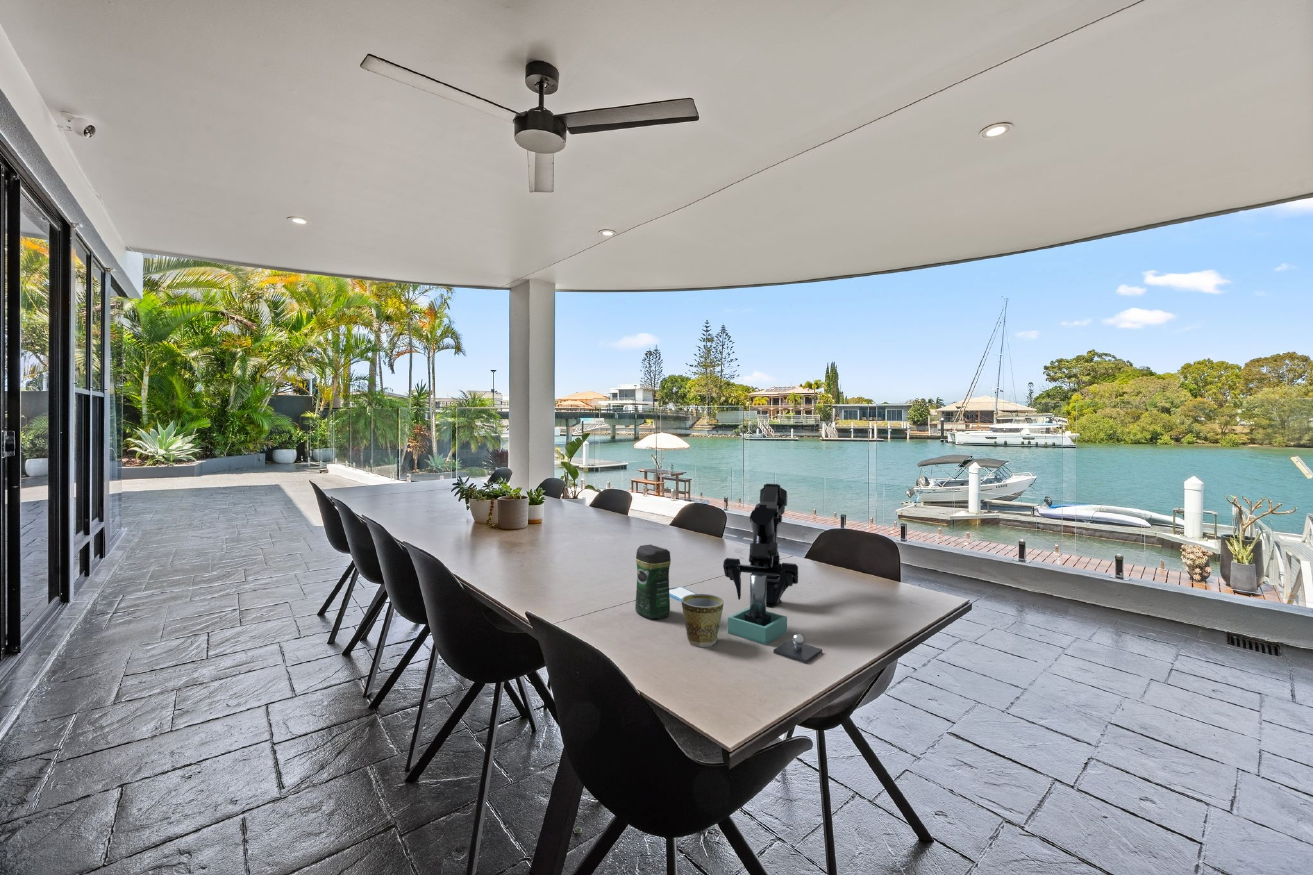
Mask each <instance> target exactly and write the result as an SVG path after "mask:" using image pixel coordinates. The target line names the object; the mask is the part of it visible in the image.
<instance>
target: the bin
mask: <svg viewBox="0 0 1313 875" xmlns="http://www.w3.org/2000/svg"><path fill="white" fill-rule="evenodd" d="M745 613H750V606H748V607H747V608H745V609H743V610H741V611H739V612H736V613H734V614H731V615H729V616H728V617H727V634H729V635H732V636H734V637H735V636H736V637H739V638H742V639H745V640H748V641H751V642H753V643H754V642H755V643H756V644H761V645H764V646H766V645H768V644H770V643H771V642H773V641H775V640H777V639H778V638H780V637H782V636H783V635H785V634H787V633H788V616H786V615H783V614H782V615H781V614H778V613H775V612H771V611H767V610H766V614H767V615H770V616H771V623H770V624H768V625H766V626H761V625H757V624H754V623H751V622H747V621H745Z"/></svg>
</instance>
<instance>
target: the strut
mask: <svg viewBox="0 0 1313 875" xmlns="http://www.w3.org/2000/svg"><path fill="white" fill-rule="evenodd" d="M749 574H750V577H749V578H750V579H749V580H750V584H749V607H750V613H745V621H747V622H751V623H754V624H757V625H761V626H766V625H768V624H770V623H771V616H770V615H767V614H766V611H767V606H766V587H767V575H766V574H763V573H749Z"/></svg>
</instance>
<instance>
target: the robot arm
mask: <svg viewBox="0 0 1313 875" xmlns="http://www.w3.org/2000/svg"><path fill="white" fill-rule="evenodd" d="M781 486H782V485H781V484H778V483H765V484H763V487H762V488H761V489H760V491H759V503H757V504H755V507H754V509H752V511H751V513H750V515H749V521H750V523H751V531H752V533H753V536H752V538H753V539H752V542H751V543H750V544H749V554H748V562H749V564H742V563H741V560H740V558H733V557H726V558H725V559H724V560H723V564H722V565H723V566H722V567H723V572H724V576H725V577H726V578H729V581H733V582H734V585H735V589H736V594H737V599H738V600H739V601H740V600H741V596H742V578H741V576H742V573H746V574H747V573H749V574H752V573H763V574H766V575H767V587H766V607H769V608H773V607H775V606H777V605H778V604H779V605H780V604H781V603H783V602H782V600H781V599H782V596H783V594H784V593H785V591H786V590H787V589H788V588H789V587H793V585H797V584H799V566H798V565H797V563H792V562H790V563H789V562H782V563H781V561H780V560H781V559H780V554H779V545H778V532H779V526H780V525H781V524H782V521H783V515H784V514H785V511H786V510H785V509H786V507H787V506H788V491H787V490H785V489H784V488H782V487H781Z"/></svg>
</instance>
